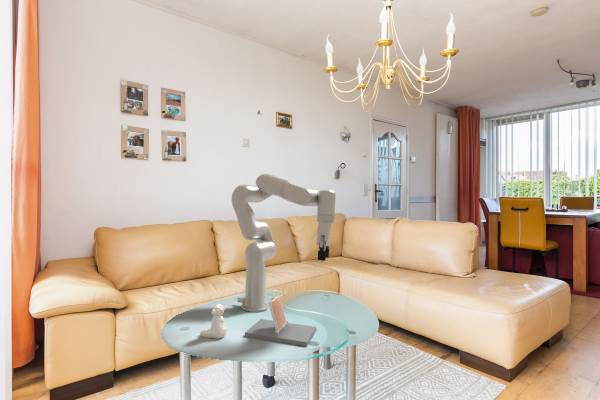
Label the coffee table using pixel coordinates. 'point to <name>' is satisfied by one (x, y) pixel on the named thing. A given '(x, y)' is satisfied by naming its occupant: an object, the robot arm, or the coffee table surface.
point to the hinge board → (282, 332)
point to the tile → (277, 313)
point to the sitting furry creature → (216, 324)
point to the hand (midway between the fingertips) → (323, 258)
